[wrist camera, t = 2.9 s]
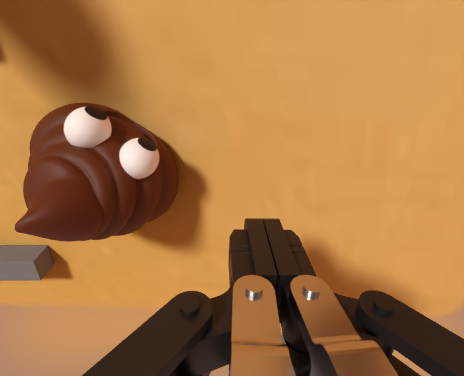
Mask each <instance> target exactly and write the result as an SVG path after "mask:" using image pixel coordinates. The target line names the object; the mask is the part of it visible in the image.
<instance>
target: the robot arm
mask: <svg viewBox="0 0 464 376" xmlns="http://www.w3.org/2000/svg"><path fill="white" fill-rule="evenodd" d="M229 280H230V288H229V290H228V291H226V292H225V293H224V294H222V295H220V296H217V297H214V298H211V299H209V298H208V296H206V295H205V294H203V293H201V292H197V291H187V292H183V293H180V294H178V295H177V296H175V297H174V298H173V299H171V300H170V301H169V302H168V303H167V304H166V305H164V306H163V307H162V308H161V309H160V310H159V311H157V312H156V313H155V314H154V315H153V316H152V317H150V318H149V319H148V320H147V321H146V322H145V323H143V324H142V325H141V326H140V327H139V328H138V329H137V330H135V331H134V332H133V333H132V334H130V335H129V336H128V337H127V338H126V339H125V340H123V341H122V342H121V343H120V344H119V345H118V346H116V347H115V348H114V349H113V350H112V351H111V352H109V353H108V354H107V355H106V356H105V357H103V358H102V359H101V360H100V361H99V362H98V363H96V364H95V365H94V366H93V367H92V368H90V369H89V370H88V371H87V372H86V373H85V374H83V375H82V376H209V374H210V372H211V371H213V370H215V369H218V368H220V367H223V366H225V365H228V364H229V376H421V375H419V374H418V373H416V372H415V371H413V370H412V369H411V368H409V367H408V366H407V365H405V364H404V363H403V362H401V361H400V360H398V359H397V358H396V357H394V356H393V355H392V353H393V351H394V349H395V350H396V351H398V352H399V353H401V354H402V355H403V356H405V357H406V358H408V359H409V360H411V361H412V362H413V363H415V364H416V365H417V366H419V367H420V368H422V369H423V370H425V371H426V372H427V373H429V374H430V375H432V376H464V339H463V338H461V337H459V336H458V335H456V334H454V333H453V332H451V331H449V330H447V329H446V328H444V327H442V326H441V325H439V324H437V323H436V322H434V321H432V320H431V319H429V318H427V317H425V316H424V315H422V314H420V313H419V312H417V311H415V310H414V309H412V308H410V307H409V306H407V305H405V304H403V303H402V302H400V301H398V300H397V299H395V298H393V297H392V296H390V295H388V294H385V293H383V292H379V291H365V292H363V293H362V294H361V295H360V298H359V300H357V299H353V298H349V297H345V296H341V295H338V294H336V293H333V291H332V290H331V288H330V286H329V285H328V284H327V283H326V282H325V281H323V280H322V279H320V278H318V277H317V276H316V274H315V272H314V270H313V267H312V265H311V263H310V261H309V259H308V256H307V254H306V253H305V250H304V248H303V247H302V243H301V241H300V239H299V237H298V236H297V235H296V234H295V233H294V232H293V231H291V230H283V227H282V225H281V222H280V220H279V219H245V223H244V230H233V232H232V234H231V235H230V242H229ZM280 323H281V327H282V336H281V329H280Z"/></svg>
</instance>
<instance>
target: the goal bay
mask: <svg viewBox="0 0 464 376" xmlns="http://www.w3.org/2000/svg"><path fill="white" fill-rule="evenodd" d="M53 264H54V263H53V260H52V257H51V254H50V251H49V248H48V245H0V281H3V280H41V279H42V278H43V277H44V275H45V274H46V273H47V271H48V270H49V269H50V268H51V266H52V265H53Z"/></svg>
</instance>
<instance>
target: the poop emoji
mask: <svg viewBox="0 0 464 376" xmlns="http://www.w3.org/2000/svg"><path fill="white" fill-rule="evenodd" d="M177 188H178V171H177V167H176V164H175V161H174V159H173V157H172V155H171V153H170V151H169V150H168V149H167V147H166V146H165V145H164V144H163V142H162V141H161V140H160V139H159V138H158V137H156V136H155V135H154V134H153V133H151V132H150V131H149V130H147V129H145V128H144V127H142V126H140V125H137V124H135V123H134V122H133V121H132V120H130V119H129V118H128V117H126V116H125V115H123V114H121V113H120V112H118V111H116V110H113V109H111V108H108V107H105V106H102V105H98V104H91V103H75V104H69V105H65V106H62V107H60V108H57V109H55V110H53V111H52V112H50V113H48V114H47V115H46V116H45V117H44V118H43V119H42V120H41V121H40V122H39V123H38V124H37V126H36V127H35V129H34V131H33V134H32V137H31V141H30V157H29V163H28V172H27V174H26V176H25V180H24V186H23V192H24V199H25V203H26V206H27V208H28V211H27V213H26V214H25V215H24V216H23V217H22V218H21V219H20V220H19V221H18V222H17V223H16V224H15V230H16V231H17V232H19V233H25V234H30V235H34V236H38V237H43V238H47V239H51V240H57V241H85V240H90V239H91V240H100V239H105V238H108V237H111V236H120V235H126V234H129V233H132V232H134V231H136V230H138V229H139V228H141V227H142V226H143V225H144V224H145V223H147V222H150V221H152V220H154V219H156V218H158V217H159V216H161V215H162V214H163V213H164V212H165V211H166V210H167V209H168V208H169V207H170V205H171V204H172V202H173V200H174V198H175V196H176V193H177Z"/></svg>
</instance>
